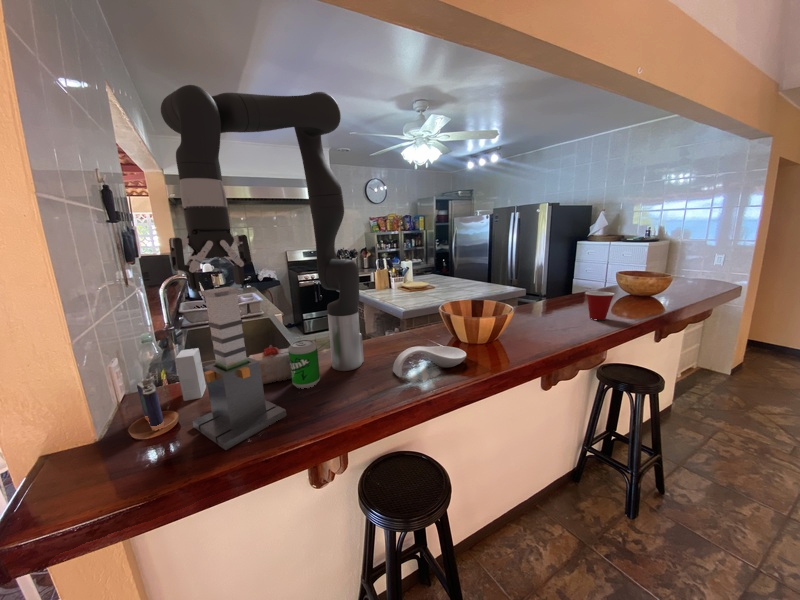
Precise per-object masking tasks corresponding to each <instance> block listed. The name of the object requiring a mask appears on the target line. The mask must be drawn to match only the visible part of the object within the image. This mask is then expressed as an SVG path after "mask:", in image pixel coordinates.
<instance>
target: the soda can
mask: <svg viewBox="0 0 800 600" xmlns="http://www.w3.org/2000/svg"><path fill="white" fill-rule="evenodd" d="M287 348H288V351H289V359H290V368H291V376H292V379H291V383H292V385H293V386H294V387H296V388H297V389H300V388H301V389H302V390H305V389H304V388H307V389H311V388H313V387H315V386H317V384H318V382H319V381H320V380H321V374H320V364H319V363H320V362H319V352H318V345H317V343H315V342H314V341H313V340H312V339H300V340H296V341H293V342H292V343H291V344H290V345H289V346H288V347H287ZM314 385H315V386H314ZM310 387H311V388H310ZM301 389H300V390H301Z"/></svg>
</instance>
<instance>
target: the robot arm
mask: <svg viewBox="0 0 800 600" xmlns="http://www.w3.org/2000/svg"><path fill="white" fill-rule="evenodd" d="M160 115H161V117H162V119H163V121H164V123H165V124H166V125H167V126H168V127H169V128H170V129H171V130H173V131H174V132H176V133H178V134H179V135H180V144H179V146H178V147H177V149H176V151H175V161H176V167H177V173H178V177H179V188H180V189H179V192H180V199H181V205H182V210H183V216H184V220H185V221H184V223H185V227H186V231H187V237H184V238H183V237H176V236H175V237H170V238H169V239H168V242H169V251H170V261H171V267H172V270H175V271H180V272H181V271H182V272H184V273H185V276H186V283H187V287H188V289H189V290H192V291H191V292H194V293H198V292H202V289H201V285H200V278H199V272H196V271H197V269H198V268H199V267H200V264H202V262H204V260H205V259H207V260H208V259H215V258H224V259H226V260H227V261H229V262H230V264H232V273H233V279H234V284H235V285H239V286H240V285H244V282H245V280H246V277H245V269H244V267H245V266H246V265H247V264H251V262H252V255H251V250H250V245H249V239H248V236H247V235H246V234H237V235H233V234H232V233H231V227H232V226H231V222H230V214H229V209H228V208H229V206H228V200H227V195H226V191H225V188H224V184H223V183H224V182H223V176H222V171H221V170H222V169H221V164H220V159H219V155H220V149H221V148H220V147H221V134H225V133H260V132H261V133H262V132H271V131H276V130H283V129H287V128H288V129H289V128H291V129H292V128H294V132H295V136H296V140H297V144H298V147H299V150H300V156H301V159H302V166H303V170H304V171H303V173H304V177H305V181H306V187H307V196H308V202H309V209H310V214H311V219H312V225H313V232H314V239H315V253H316V268H317V278H318V281H319V283H320V285H321V287H322V288H323V289H325V290H328V291H329V290H330V291H339V296H338V297H339V298H338V299H336V300H334V301H332V302H329V303H328V304H327V306H326V307H327V308H326V310H327V319H328V320H327V321H328V332H329V333H328V334H329V345H330V353H331V354H330V357H331V367H332V369H334V370H335V371H338V372H340V371H341V372H346V371H354V370H356V369H358V368H360V367H361V366H362V364H363V363H364V362H365V360H364V345H363V335H362V333H360V319H359V318H360V317H359V303H360V271H359V267H358V265H357V263H356V262H355V261H354V260H352V259H343V258H342V259H339V258H338V259H337V257H336V250H335V249H336V248H335V246H336V243H335V242H336V238H337V235H338V232H339V229H340V227H341V225H342V222H343V219H344V215H345V205H344V195H343V190H342V187H341V184H340V182H339V180H338V178H337V176H336V175H335V173H334V171H333V170H332V169H331V167H330V165H329V163H328V161H327V159H326V157H325V154H324V148H323V143H322V136H323V135H326V134H330V133H332V132H334V131H335V130H336V129H338V127H339V125H340V123H341V120H342V119H341V117H342V116H341V110H340V107H339V104H338V102H337V101H336V99H335V98H334V97H333V96H332V95H331V94H329V93H327V92H324V91H314V92H311V93H308V94H300V95H269V94H256V93H255V94H254V93H241V92H239V93H238V92H221V93H219V94H215V95H211V94H210V93H209V92H207V90H205V89H204V88H202V87H201V86H198V85H195V84H194V85H193V84H187V85H183V86H180V87H179V88H177V89H176V90H174V91H173V92H171V93H169V94H168V95H167V96H165V97H164V98H163V100H162V102H161V104H160ZM233 244H235V246H237V250H238V254H237V252H236V251H235V250H234V249H233V248H232V246H233ZM186 246H188V247H190V248H191V250H192V251H191V253H190V255H189V256H188V258H187V261H186V263H185V256H184V250H185V249H186Z"/></svg>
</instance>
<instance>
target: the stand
mask: <svg viewBox="0 0 800 600" xmlns="http://www.w3.org/2000/svg"><path fill="white" fill-rule="evenodd" d="M246 357H247V359H248V364H245V365H242V366H240V367H237V368H234V369H232V370H229V371H226V372H225V371H223V370H221V369H218V368H217V367H216V365H215V362H214V363H211V364H208V365H205V366H203V373H204V379H205V383H206V388H207V393H208V397H209V404H210V407H211V408H210V409H211V412H209V413H207V414H204V415H202V416H200V417H198V418H195V419H194V420H192V425H193V428H194V429H195V430H197V431H198V432H200V433H201V434H202V435H203V436H204V437H207V438H208V439H209V440H211V441H212V442H214V444H217V445H218V446H219V447H220V448H222V449H223V450H225V451H227V450H229V449H230V448H233V447H235V446H236V445H237V444H240V443H241V442H243V441H245V440H246V439H248V438H250V437H252V436H254V435H256V434H257V433H259V432H261V431H262V430H264V429H266V428H268V427H270V426H272V425H273V424H275V423H277V422H278V420H279V421H281V420H282V419H284V418H286V417H287V409H285V408H283V407H281V406H279V405H277V404H275V403H272V402H271V401H268V399H267V400H266V399H265V398H266V397H265V391H264V385H263V383H262V375H261V368H260V361H257V360H254V359H252V358H249V356H246ZM276 421H277V422H276ZM269 425H270V426H269Z"/></svg>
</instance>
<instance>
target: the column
mask: <svg viewBox="0 0 800 600" xmlns="http://www.w3.org/2000/svg"><path fill="white" fill-rule="evenodd" d="M201 293H202V296H203V297H204V299H205V304H206V310H207V311H206V312H207V315H208V322H207V323H208V327H209V329H210V333H211V335H210V340H211V342H212V345H213V349H212V352H213V354H214V357H215V361H214V363H215V365H216V367H217V368H218V369H221V370H223V371H225V372H226V371H229V370H232V369H234V368H237V367H240V366H242V365H245V364H248V359H247V357H248V356H247V352H246V351H247V346H245V333H244V331H243V319H241V318H242V316H241V310H240V304H239V297H238V294H239V293H240V289H239V288H238V287H233V286H232V287H231V286H224V287H219V288H212V289H211V288H210V289H206V290H201Z"/></svg>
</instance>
